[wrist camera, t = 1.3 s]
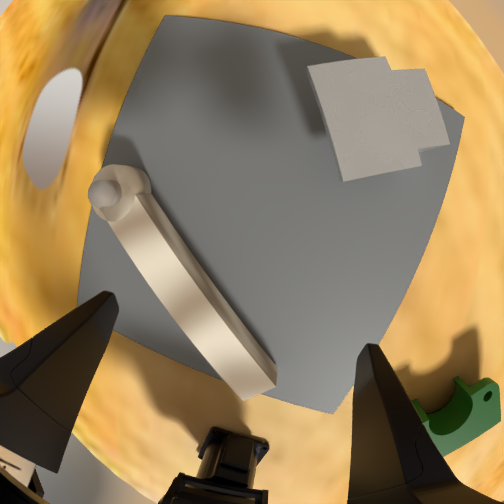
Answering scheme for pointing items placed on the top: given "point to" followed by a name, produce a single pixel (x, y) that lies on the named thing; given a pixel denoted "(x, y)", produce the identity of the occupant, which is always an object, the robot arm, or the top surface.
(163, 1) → the top surface
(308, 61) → the board
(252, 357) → the link
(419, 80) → the block
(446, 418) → the clamp
